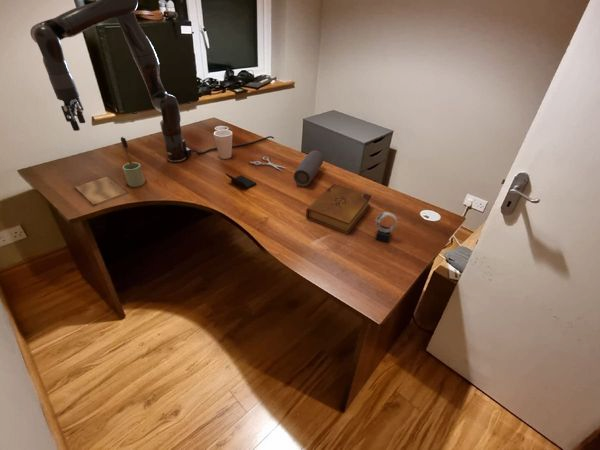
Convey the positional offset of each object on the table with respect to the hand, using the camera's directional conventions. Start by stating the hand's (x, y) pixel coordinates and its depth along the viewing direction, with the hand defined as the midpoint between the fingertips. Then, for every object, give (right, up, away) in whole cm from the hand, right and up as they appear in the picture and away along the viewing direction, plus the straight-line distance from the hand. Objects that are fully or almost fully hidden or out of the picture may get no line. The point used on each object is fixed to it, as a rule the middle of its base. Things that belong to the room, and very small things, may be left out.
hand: (79, 126), depth 136 cm
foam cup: (+51, -4, +42) cm, 66 cm away
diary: (+108, -36, +3) cm, 113 cm away
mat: (+2, -25, +11) cm, 28 cm away
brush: (+15, -21, +16) cm, 31 cm away
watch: (+123, -46, -9) cm, 132 cm away
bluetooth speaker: (+96, -17, +26) cm, 101 cm away
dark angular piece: (+63, -22, +19) cm, 70 cm away
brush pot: (+15, -22, +16) cm, 31 cm away
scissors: (+76, -10, +35) cm, 84 cm away
